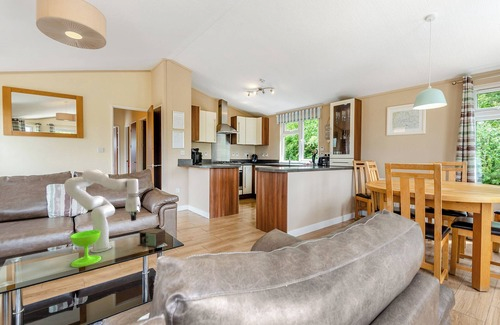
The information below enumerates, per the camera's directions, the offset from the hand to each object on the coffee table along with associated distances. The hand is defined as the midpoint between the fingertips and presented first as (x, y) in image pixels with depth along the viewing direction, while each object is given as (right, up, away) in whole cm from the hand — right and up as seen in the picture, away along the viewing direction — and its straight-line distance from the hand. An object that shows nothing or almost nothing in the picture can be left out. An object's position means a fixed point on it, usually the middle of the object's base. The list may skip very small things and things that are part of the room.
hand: (133, 220), depth 165 cm
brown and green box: (+9, -21, +11) cm, 25 cm away
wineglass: (-21, -22, -19) cm, 36 cm away
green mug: (+10, -20, +2) cm, 23 cm away
